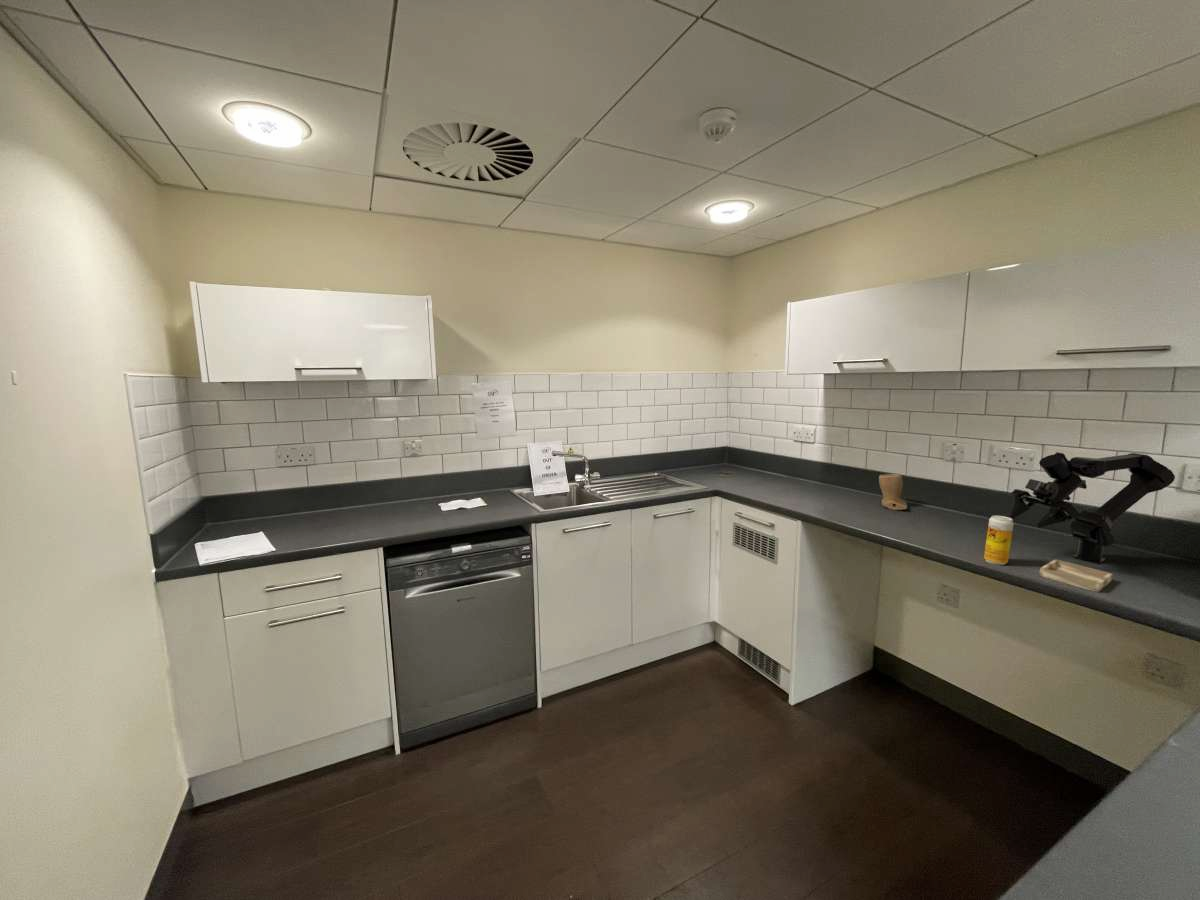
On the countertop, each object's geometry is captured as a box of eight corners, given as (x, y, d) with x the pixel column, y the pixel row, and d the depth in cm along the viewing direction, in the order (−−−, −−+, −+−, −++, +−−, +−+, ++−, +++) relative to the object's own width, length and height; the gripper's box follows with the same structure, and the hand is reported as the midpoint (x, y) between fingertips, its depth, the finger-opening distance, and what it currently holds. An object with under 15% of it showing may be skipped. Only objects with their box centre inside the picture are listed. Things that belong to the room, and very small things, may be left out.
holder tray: (1053, 566, 154) (1055, 559, 153) (1111, 581, 143) (1113, 573, 143) (1038, 575, 147) (1040, 568, 147) (1098, 592, 136) (1099, 584, 136)
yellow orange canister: (979, 559, 159) (985, 516, 157) (991, 557, 162) (997, 514, 159) (999, 566, 154) (1006, 521, 151) (1011, 564, 156) (1018, 519, 153)
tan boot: (876, 500, 231) (879, 470, 228) (905, 504, 225) (909, 472, 222) (875, 508, 218) (879, 476, 216) (906, 512, 212) (910, 479, 210)
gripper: (1019, 465, 163) (984, 497, 164) (1077, 477, 144) (1037, 514, 146) (1038, 487, 165) (1003, 519, 166) (1097, 502, 146) (1057, 538, 147)
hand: (1023, 522), depth 156 cm, fingers open, 9 cm apart
